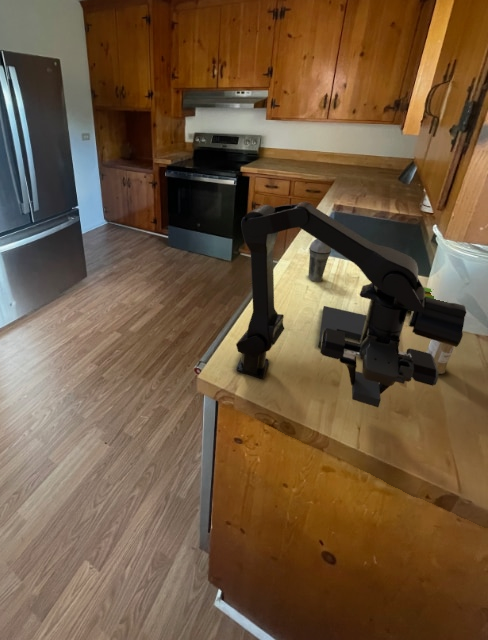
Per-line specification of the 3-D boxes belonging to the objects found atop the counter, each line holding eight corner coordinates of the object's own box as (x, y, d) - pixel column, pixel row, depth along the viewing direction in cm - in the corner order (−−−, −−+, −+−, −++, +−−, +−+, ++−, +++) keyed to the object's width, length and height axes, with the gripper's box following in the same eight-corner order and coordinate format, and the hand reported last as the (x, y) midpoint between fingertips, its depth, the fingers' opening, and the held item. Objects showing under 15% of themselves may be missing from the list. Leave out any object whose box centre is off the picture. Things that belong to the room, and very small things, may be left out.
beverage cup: (300, 275, 123) (308, 224, 115) (316, 272, 125) (325, 223, 117) (312, 284, 116) (322, 232, 109) (329, 281, 118) (340, 229, 111)
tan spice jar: (445, 377, 77) (464, 330, 72) (421, 369, 79) (438, 323, 74) (444, 365, 80) (462, 320, 75) (421, 358, 83) (437, 313, 77)
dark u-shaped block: (378, 363, 81) (380, 357, 80) (318, 347, 86) (319, 340, 85) (373, 322, 96) (375, 317, 95) (322, 311, 101) (323, 305, 101)
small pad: (378, 407, 62) (380, 399, 61) (352, 399, 64) (354, 391, 63) (376, 385, 67) (378, 377, 66) (351, 377, 69) (353, 370, 68)
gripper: (325, 334, 56) (311, 402, 62) (460, 368, 49) (430, 441, 54) (328, 301, 65) (316, 363, 71) (442, 326, 58) (418, 392, 64)
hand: (365, 388), depth 65 cm, fingers closed on small pad, 4 cm apart
